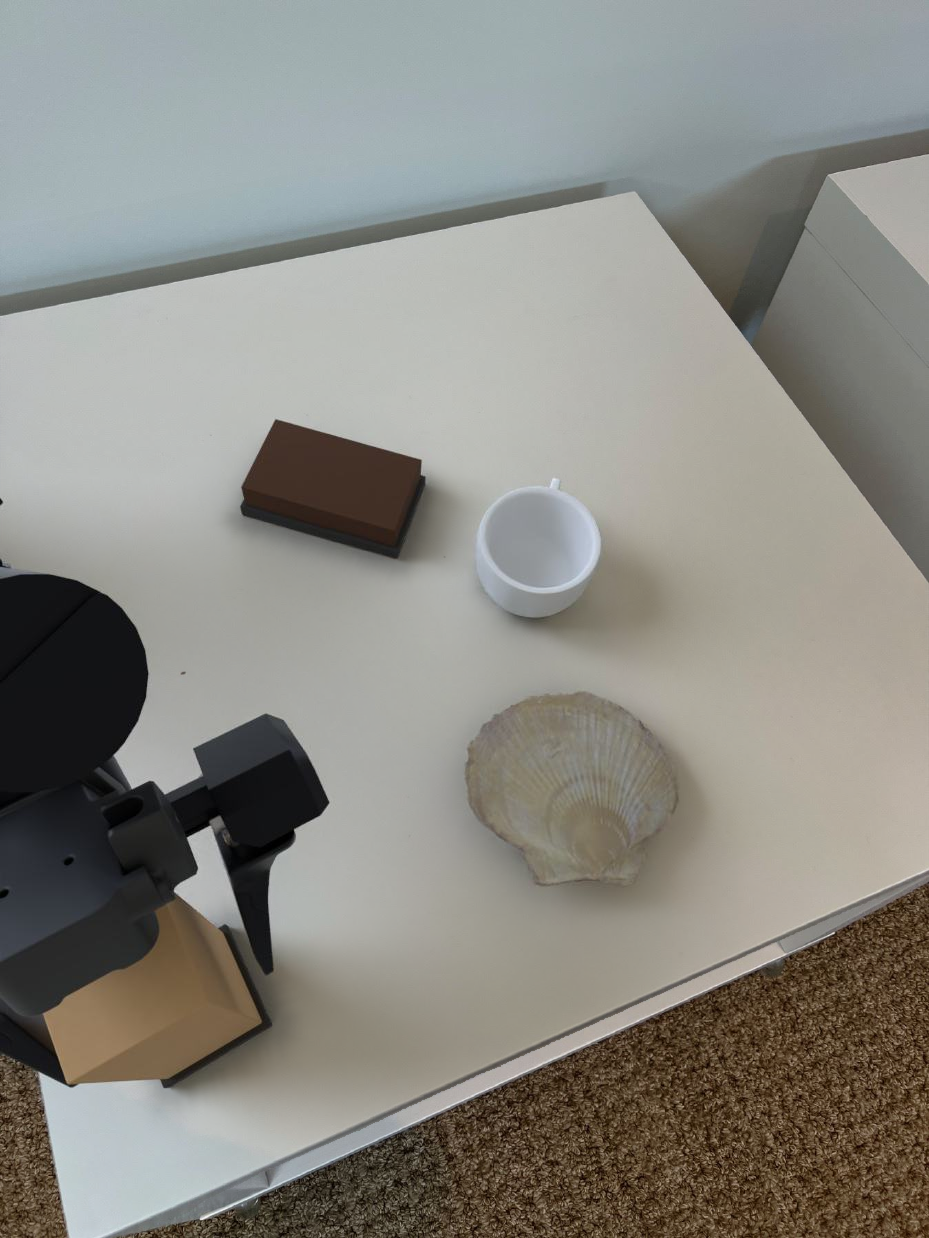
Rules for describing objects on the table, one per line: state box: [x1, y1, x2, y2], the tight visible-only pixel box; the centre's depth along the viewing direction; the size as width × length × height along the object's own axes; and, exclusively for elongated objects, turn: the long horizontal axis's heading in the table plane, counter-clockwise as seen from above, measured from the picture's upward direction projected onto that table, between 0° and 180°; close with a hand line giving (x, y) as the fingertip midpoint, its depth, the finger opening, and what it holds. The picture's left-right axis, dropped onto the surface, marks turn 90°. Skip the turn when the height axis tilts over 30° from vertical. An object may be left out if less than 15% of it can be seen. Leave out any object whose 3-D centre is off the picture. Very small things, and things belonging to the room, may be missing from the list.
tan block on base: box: [43, 891, 273, 1089], centre depth 37 cm, size 6×6×16 cm
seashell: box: [463, 691, 681, 888], centre depth 50 cm, size 12×12×3 cm
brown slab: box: [239, 418, 427, 560], centre depth 58 cm, size 11×6×3 cm, turn 74°
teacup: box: [475, 477, 602, 619], centre depth 56 cm, size 10×8×5 cm
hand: (175, 1021), depth 37 cm, fingers open, 8 cm apart
